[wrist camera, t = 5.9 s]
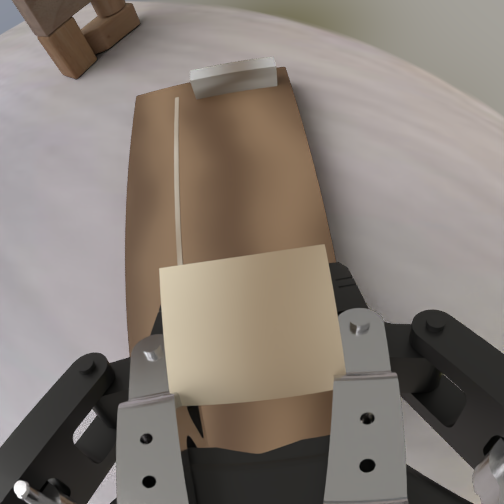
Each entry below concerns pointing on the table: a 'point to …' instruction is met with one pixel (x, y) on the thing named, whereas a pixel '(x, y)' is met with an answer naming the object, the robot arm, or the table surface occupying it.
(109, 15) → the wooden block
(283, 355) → the beige tall blocky piece
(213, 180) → the walnut board
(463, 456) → the robot arm
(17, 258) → the table surface
